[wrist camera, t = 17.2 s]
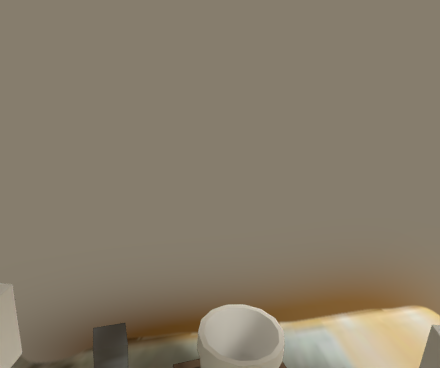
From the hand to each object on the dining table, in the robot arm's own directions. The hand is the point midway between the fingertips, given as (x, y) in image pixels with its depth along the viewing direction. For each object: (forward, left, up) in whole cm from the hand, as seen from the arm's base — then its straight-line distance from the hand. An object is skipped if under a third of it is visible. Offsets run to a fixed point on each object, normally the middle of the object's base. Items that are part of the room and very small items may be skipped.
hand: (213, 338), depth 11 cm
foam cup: (-11, -20, -32) cm, 39 cm away
